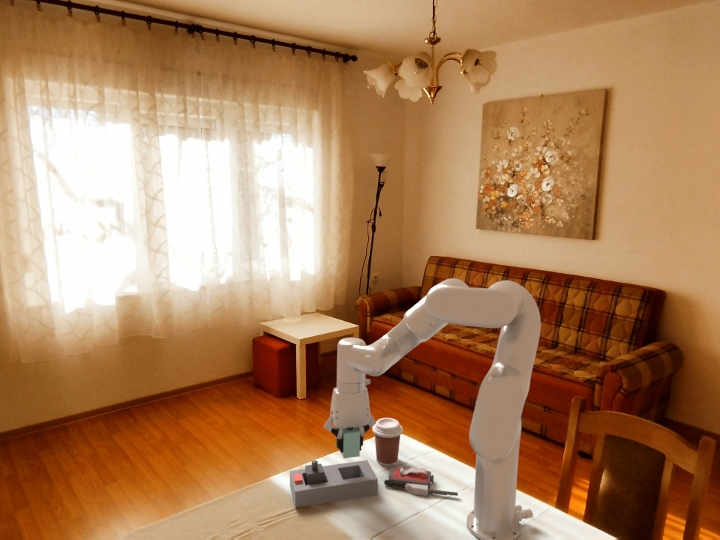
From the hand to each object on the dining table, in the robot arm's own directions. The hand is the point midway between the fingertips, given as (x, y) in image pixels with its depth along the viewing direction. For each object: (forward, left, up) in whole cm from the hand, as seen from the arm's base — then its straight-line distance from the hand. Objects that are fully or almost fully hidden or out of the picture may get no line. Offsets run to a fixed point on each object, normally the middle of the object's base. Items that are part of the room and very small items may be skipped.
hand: (349, 448), depth 138 cm
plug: (0, 0, -1) cm, 1 cm away
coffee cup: (-14, -11, -12) cm, 21 cm away
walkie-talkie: (-19, +5, -12) cm, 23 cm away
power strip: (+5, 0, -11) cm, 12 cm away
